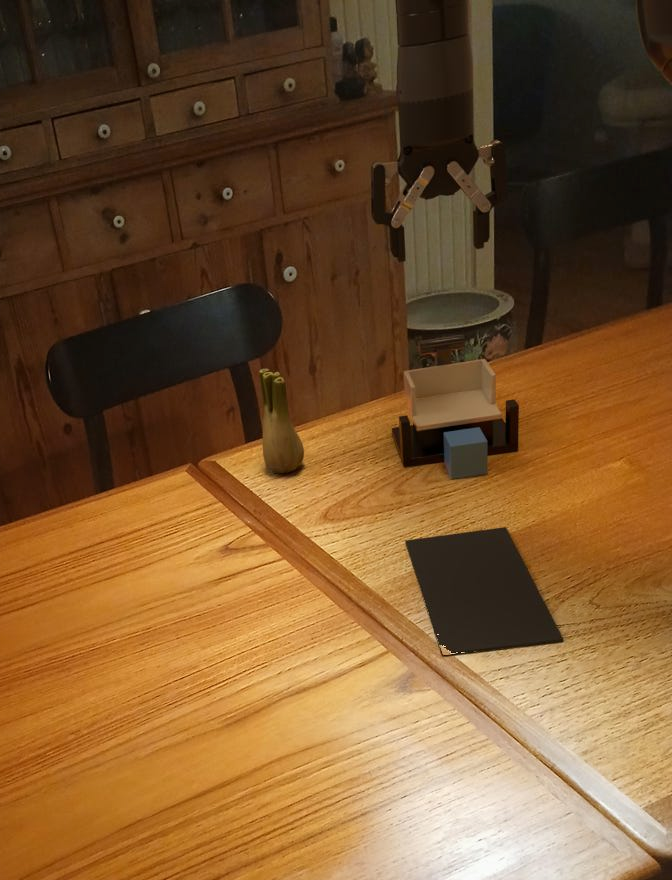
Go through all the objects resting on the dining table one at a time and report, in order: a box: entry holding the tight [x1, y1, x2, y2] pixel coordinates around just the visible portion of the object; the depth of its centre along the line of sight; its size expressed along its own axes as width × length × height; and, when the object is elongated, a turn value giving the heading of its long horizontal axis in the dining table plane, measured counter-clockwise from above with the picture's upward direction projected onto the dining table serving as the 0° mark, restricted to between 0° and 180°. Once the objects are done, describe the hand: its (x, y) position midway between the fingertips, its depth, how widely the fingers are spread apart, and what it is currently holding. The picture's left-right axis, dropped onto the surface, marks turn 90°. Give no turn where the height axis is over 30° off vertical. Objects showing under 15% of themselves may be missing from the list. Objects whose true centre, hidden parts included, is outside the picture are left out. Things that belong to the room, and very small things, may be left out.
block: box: [443, 427, 488, 480], centre depth 110 cm, size 4×4×4 cm
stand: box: [390, 399, 520, 468], centre depth 116 cm, size 13×10×6 cm
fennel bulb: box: [258, 368, 305, 474], centre depth 116 cm, size 6×5×12 cm
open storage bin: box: [403, 334, 503, 431], centre depth 114 cm, size 10×11×7 cm
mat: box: [404, 526, 564, 654], centre depth 91 cm, size 10×20×1 cm, turn 179°
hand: (440, 253), depth 110 cm, fingers open, 8 cm apart
